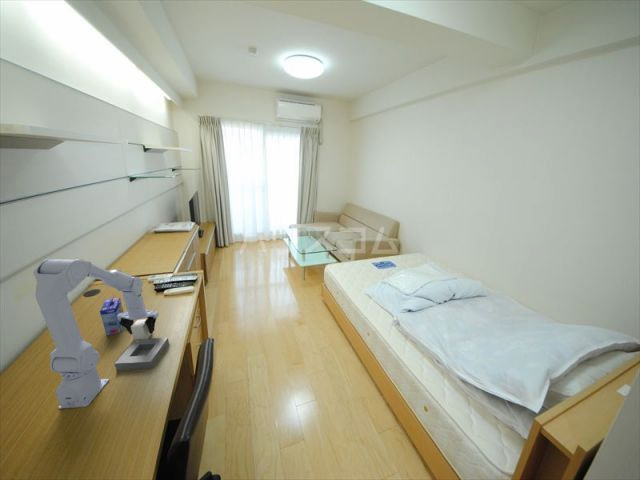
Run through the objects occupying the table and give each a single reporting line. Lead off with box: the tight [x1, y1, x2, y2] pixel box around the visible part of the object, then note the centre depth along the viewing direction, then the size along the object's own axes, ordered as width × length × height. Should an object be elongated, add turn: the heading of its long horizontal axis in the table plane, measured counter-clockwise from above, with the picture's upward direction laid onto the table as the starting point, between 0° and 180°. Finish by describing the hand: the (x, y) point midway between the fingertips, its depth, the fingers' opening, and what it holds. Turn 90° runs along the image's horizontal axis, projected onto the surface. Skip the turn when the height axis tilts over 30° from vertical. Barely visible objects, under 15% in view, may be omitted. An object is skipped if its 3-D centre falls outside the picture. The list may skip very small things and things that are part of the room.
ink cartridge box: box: [99, 296, 125, 336], centre depth 104 cm, size 10×6×14 cm, turn 29°
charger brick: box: [131, 318, 153, 342], centre depth 101 cm, size 5×4×7 cm
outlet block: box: [114, 337, 170, 371], centre depth 91 cm, size 12×12×3 cm
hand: (142, 332), depth 101 cm, fingers open, 7 cm apart
